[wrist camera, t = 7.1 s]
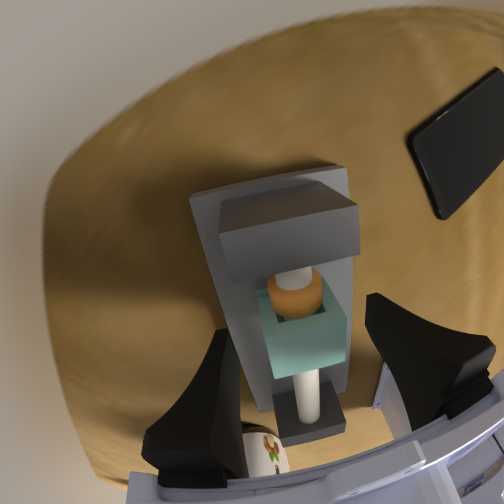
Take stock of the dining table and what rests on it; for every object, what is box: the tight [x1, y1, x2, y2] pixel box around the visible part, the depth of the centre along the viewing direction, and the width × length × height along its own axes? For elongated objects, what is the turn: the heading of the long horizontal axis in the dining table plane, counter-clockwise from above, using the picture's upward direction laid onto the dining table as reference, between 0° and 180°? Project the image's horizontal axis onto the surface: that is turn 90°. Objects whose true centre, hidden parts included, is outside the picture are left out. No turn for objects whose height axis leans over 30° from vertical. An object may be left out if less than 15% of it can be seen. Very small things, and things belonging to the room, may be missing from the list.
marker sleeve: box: [256, 276, 347, 379], centre depth 13 cm, size 3×4×4 cm
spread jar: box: [241, 425, 290, 478], centre depth 20 cm, size 12×11×12 cm
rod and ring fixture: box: [189, 165, 360, 448], centre depth 15 cm, size 19×8×6 cm, turn 11°
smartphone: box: [407, 68, 504, 220], centre depth 13 cm, size 7×1×15 cm
